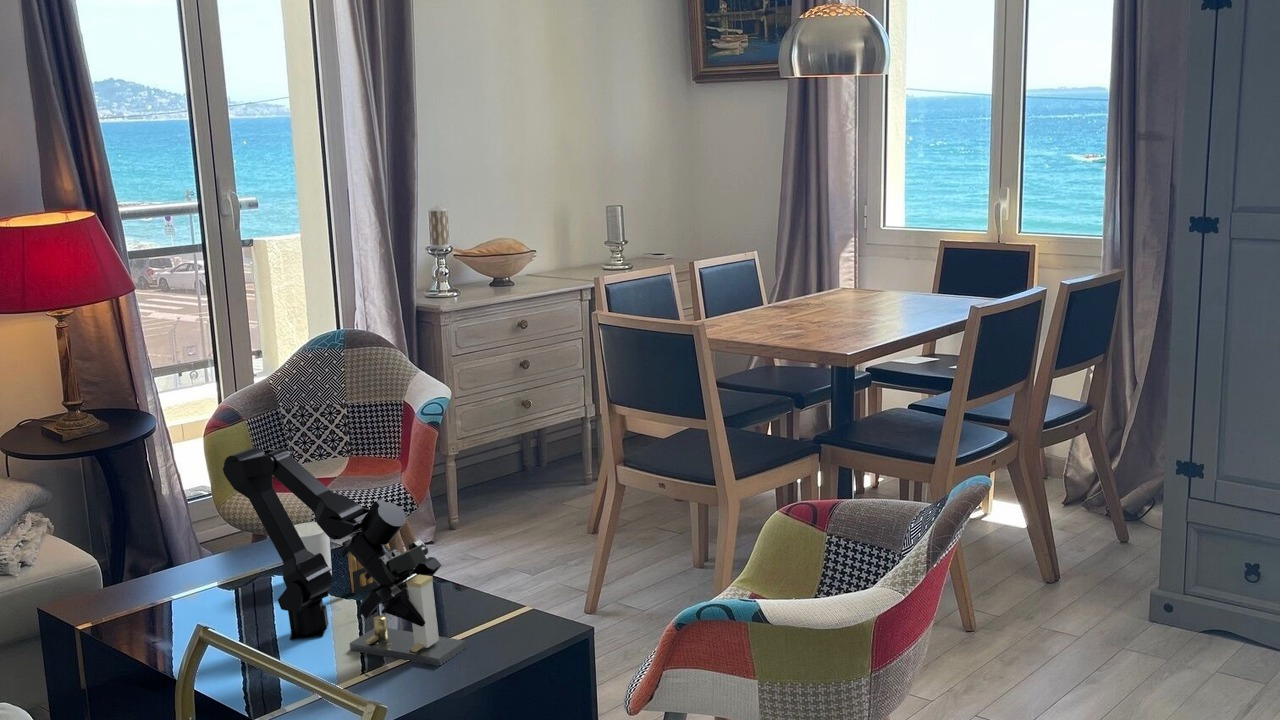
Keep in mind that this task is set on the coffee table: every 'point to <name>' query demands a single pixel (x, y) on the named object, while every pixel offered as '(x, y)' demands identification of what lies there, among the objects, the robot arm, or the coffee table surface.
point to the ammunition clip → (359, 576)
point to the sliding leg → (423, 611)
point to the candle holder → (315, 540)
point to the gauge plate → (404, 645)
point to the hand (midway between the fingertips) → (430, 620)
